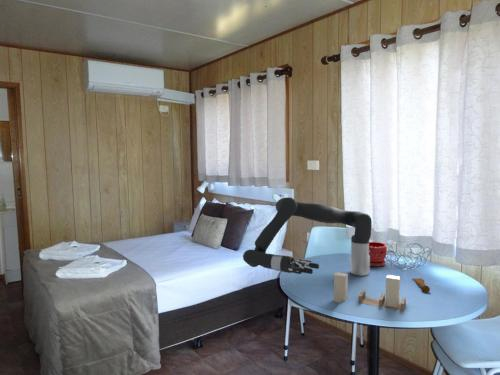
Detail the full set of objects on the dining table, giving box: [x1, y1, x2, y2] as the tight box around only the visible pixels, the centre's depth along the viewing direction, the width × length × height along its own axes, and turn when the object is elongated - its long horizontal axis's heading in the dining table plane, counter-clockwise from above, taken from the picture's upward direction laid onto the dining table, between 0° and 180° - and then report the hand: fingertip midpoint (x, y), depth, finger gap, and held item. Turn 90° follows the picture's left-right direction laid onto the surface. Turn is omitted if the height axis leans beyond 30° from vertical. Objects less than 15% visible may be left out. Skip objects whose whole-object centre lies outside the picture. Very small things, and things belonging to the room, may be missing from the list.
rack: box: [358, 289, 407, 312], centre depth 151 cm, size 8×18×4 cm, turn 61°
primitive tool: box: [412, 277, 431, 293], centre depth 175 cm, size 19×6×4 cm, turn 169°
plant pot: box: [369, 241, 388, 267], centre depth 210 cm, size 13×13×12 cm
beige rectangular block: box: [333, 271, 349, 304], centre depth 156 cm, size 4×5×12 cm
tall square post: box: [385, 274, 401, 308], centre depth 149 cm, size 4×5×12 cm
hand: (315, 268), depth 161 cm, fingers open, 8 cm apart
